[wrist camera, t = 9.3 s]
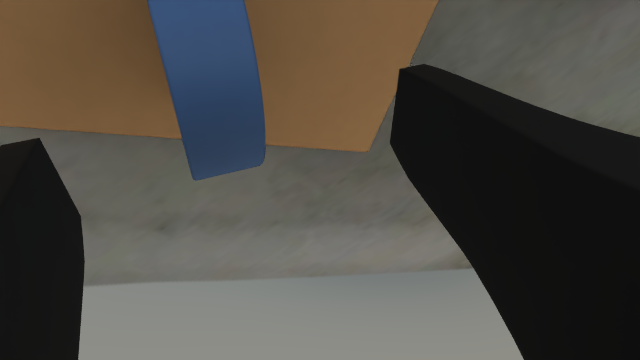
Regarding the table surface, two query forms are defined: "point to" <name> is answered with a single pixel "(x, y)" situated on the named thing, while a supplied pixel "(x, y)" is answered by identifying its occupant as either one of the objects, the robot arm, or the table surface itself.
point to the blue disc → (212, 82)
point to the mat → (152, 87)
